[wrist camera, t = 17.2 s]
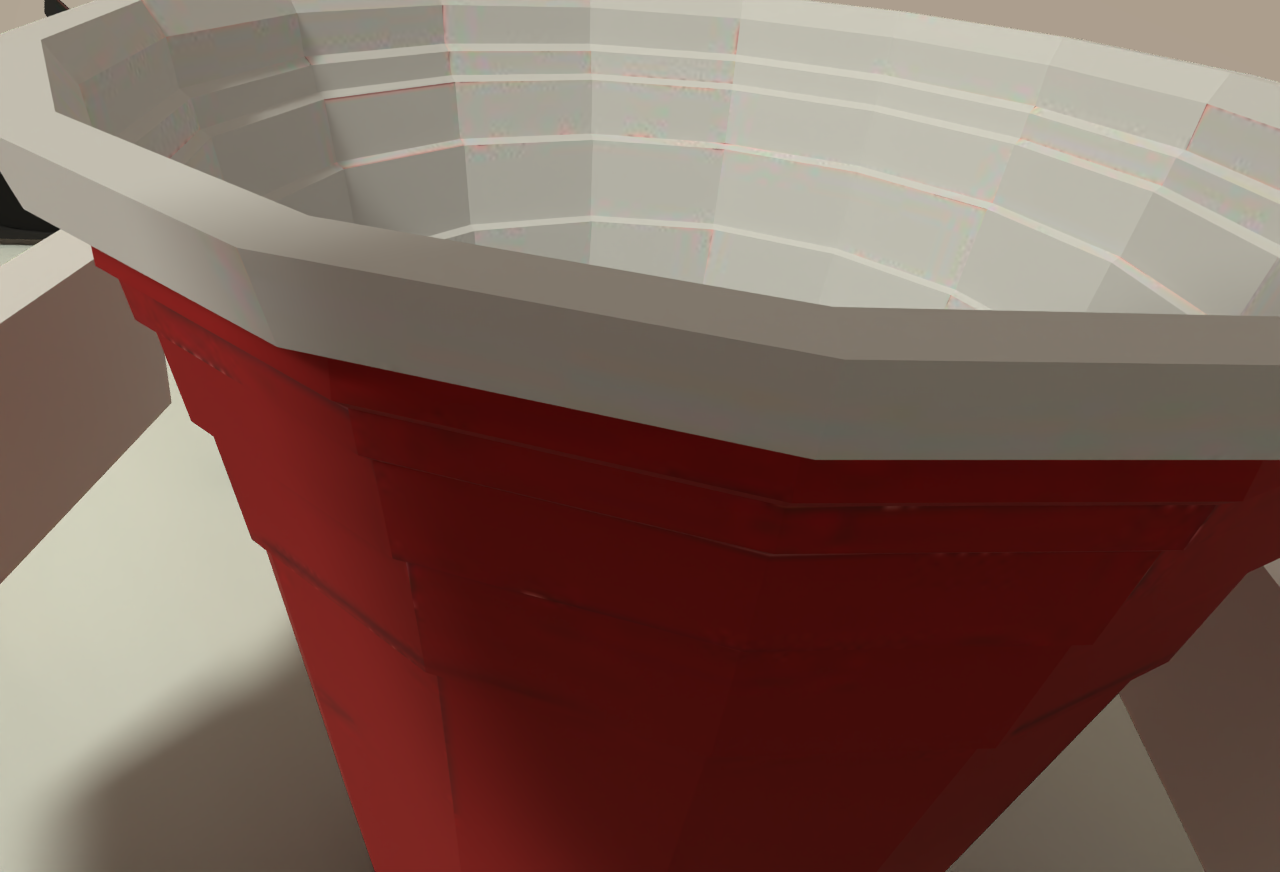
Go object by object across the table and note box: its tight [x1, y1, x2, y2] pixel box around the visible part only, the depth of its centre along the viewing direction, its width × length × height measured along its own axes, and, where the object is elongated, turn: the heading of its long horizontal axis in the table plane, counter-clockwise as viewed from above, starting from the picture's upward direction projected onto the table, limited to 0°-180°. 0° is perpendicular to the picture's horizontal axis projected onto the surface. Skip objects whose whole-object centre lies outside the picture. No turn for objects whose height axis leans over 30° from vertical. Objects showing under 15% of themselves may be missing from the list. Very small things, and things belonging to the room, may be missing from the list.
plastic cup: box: [0, 0, 1280, 872], centre depth 11 cm, size 11×11×12 cm
